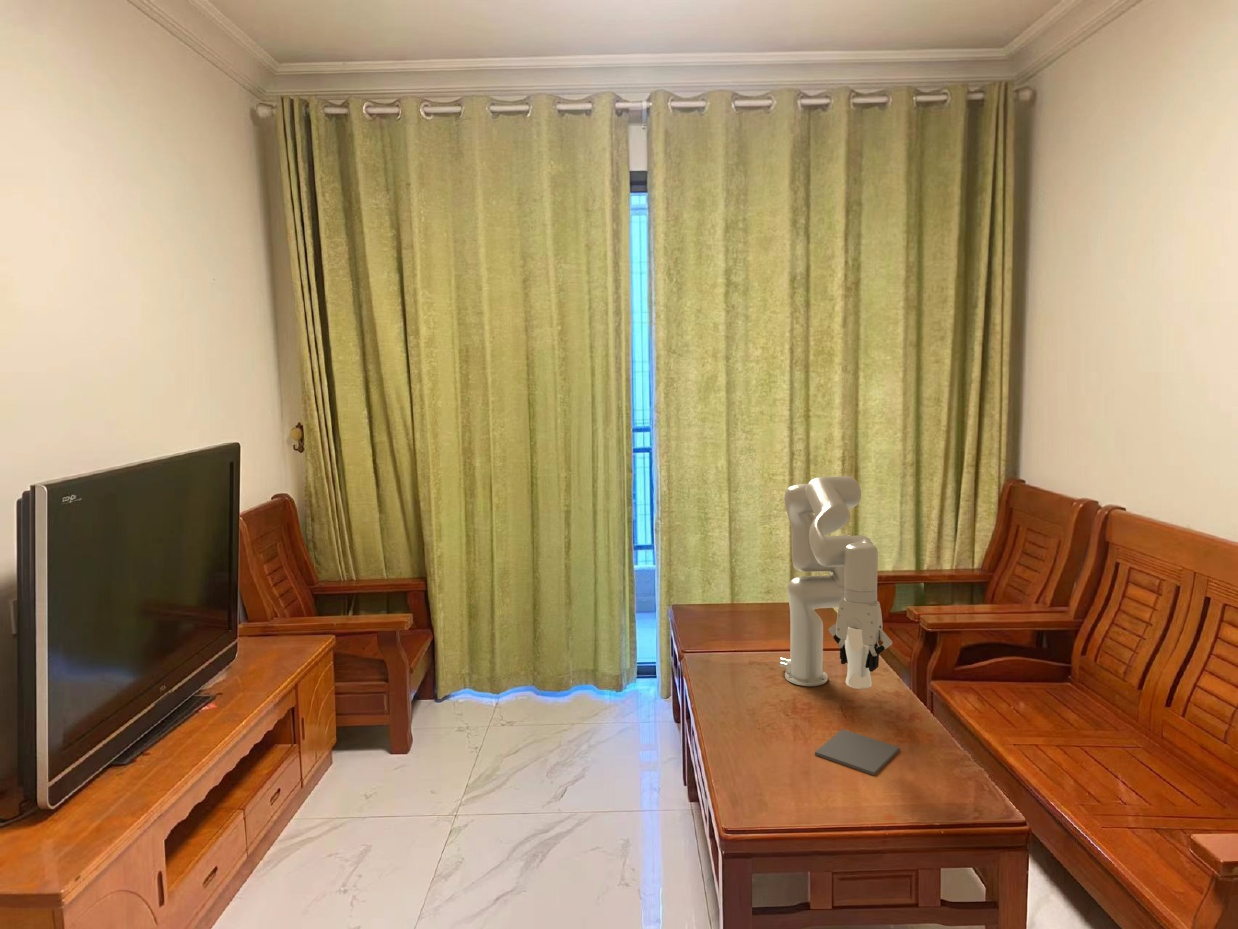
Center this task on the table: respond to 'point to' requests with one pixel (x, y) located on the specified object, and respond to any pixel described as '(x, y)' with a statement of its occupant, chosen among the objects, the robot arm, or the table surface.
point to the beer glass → (857, 660)
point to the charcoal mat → (857, 751)
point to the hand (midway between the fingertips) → (858, 665)
